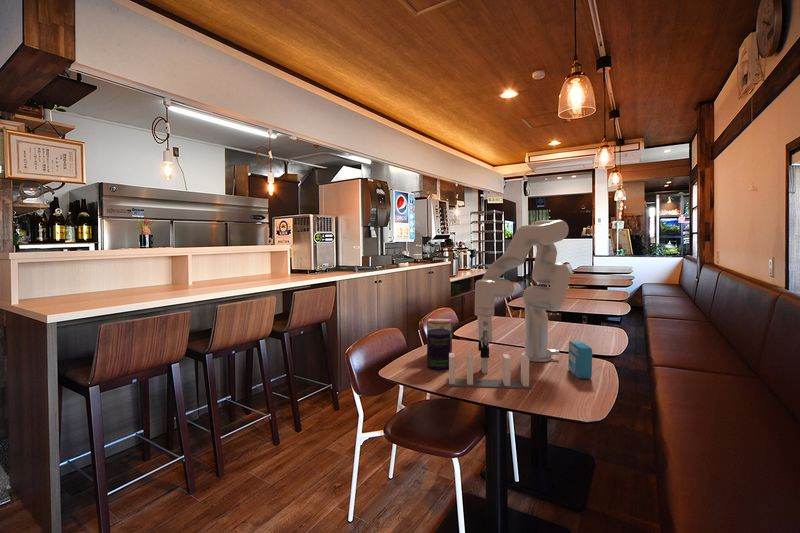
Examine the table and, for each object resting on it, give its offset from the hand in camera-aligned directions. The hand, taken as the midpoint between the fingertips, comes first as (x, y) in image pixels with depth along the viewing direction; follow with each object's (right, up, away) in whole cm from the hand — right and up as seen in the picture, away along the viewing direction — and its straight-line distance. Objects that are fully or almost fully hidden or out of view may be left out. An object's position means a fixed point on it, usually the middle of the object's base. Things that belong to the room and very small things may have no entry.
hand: (483, 354), depth 160 cm
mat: (-1, -8, -13) cm, 15 cm away
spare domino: (+1, -7, +1) cm, 7 cm away
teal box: (+36, -7, -4) cm, 37 cm away
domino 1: (-14, -8, -12) cm, 20 cm away
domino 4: (+12, -8, -15) cm, 20 cm away
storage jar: (-17, -7, +6) cm, 19 cm away
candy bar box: (-15, -6, +22) cm, 27 cm away
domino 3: (+5, -8, -14) cm, 17 cm away
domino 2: (-8, -8, -12) cm, 16 cm away
